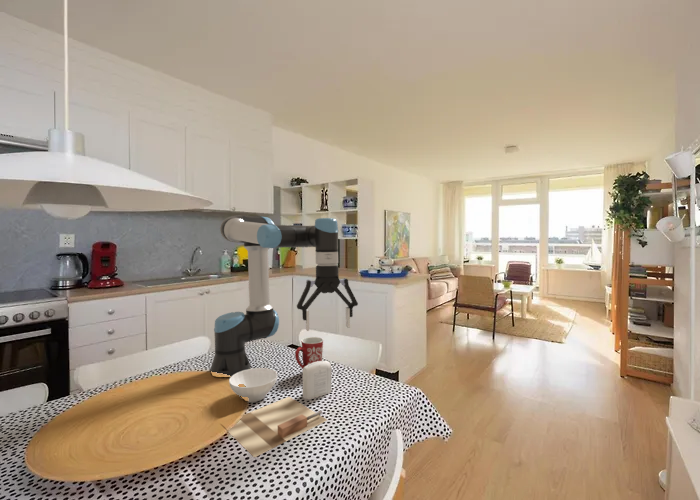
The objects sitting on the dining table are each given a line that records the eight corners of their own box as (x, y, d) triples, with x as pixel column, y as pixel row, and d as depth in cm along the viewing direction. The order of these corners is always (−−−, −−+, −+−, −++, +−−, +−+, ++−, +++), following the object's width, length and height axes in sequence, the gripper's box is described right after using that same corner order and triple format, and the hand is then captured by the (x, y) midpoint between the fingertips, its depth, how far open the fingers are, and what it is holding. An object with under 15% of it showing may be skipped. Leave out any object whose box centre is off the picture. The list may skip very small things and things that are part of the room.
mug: (314, 366, 137) (314, 335, 137) (328, 372, 131) (327, 339, 130) (289, 375, 129) (289, 341, 128) (302, 382, 122) (302, 347, 122)
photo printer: (327, 391, 114) (326, 357, 114) (333, 396, 111) (333, 360, 111) (300, 399, 109) (300, 363, 108) (306, 405, 105) (305, 367, 105)
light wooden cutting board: (220, 429, 92) (220, 424, 92) (289, 401, 108) (289, 396, 108) (254, 463, 78) (254, 457, 77) (327, 425, 93) (327, 420, 93)
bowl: (284, 400, 108) (283, 380, 108) (234, 414, 100) (234, 391, 100) (269, 383, 122) (269, 364, 122) (225, 393, 114) (224, 373, 113)
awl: (282, 438, 85) (282, 429, 85) (277, 434, 87) (277, 425, 87) (323, 417, 95) (323, 409, 95) (318, 414, 96) (318, 406, 96)
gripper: (289, 266, 100) (290, 334, 101) (366, 264, 106) (367, 328, 107) (288, 265, 108) (289, 328, 108) (360, 263, 114) (361, 323, 114)
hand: (328, 328), depth 107 cm, fingers open, 13 cm apart
